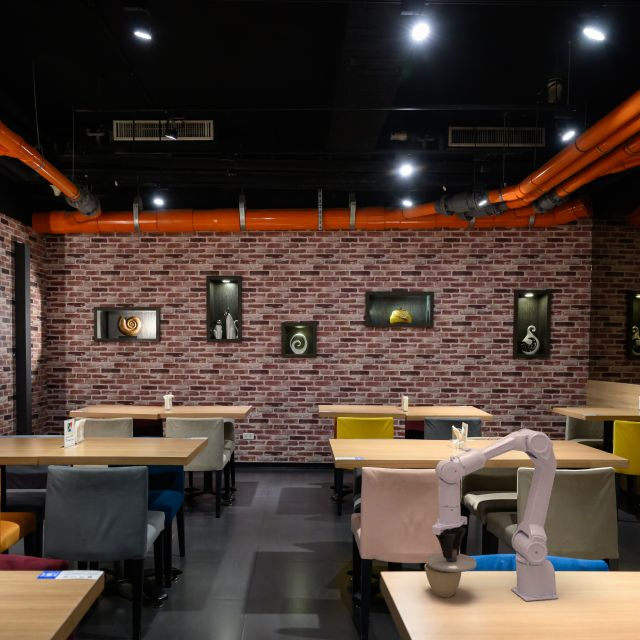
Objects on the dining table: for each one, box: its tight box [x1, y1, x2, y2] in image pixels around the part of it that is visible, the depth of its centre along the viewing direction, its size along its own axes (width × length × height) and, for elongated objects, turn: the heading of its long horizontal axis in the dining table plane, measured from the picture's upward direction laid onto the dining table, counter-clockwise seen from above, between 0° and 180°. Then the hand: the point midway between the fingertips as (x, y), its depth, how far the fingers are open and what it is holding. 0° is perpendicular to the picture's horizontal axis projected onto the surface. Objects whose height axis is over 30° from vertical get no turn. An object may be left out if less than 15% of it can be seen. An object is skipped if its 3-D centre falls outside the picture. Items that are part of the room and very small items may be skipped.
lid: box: [426, 548, 477, 573], centre depth 144 cm, size 13×13×4 cm
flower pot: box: [424, 562, 463, 598], centre depth 146 cm, size 10×10×7 cm
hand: (451, 556), depth 144 cm, fingers closed on lid, 3 cm apart
